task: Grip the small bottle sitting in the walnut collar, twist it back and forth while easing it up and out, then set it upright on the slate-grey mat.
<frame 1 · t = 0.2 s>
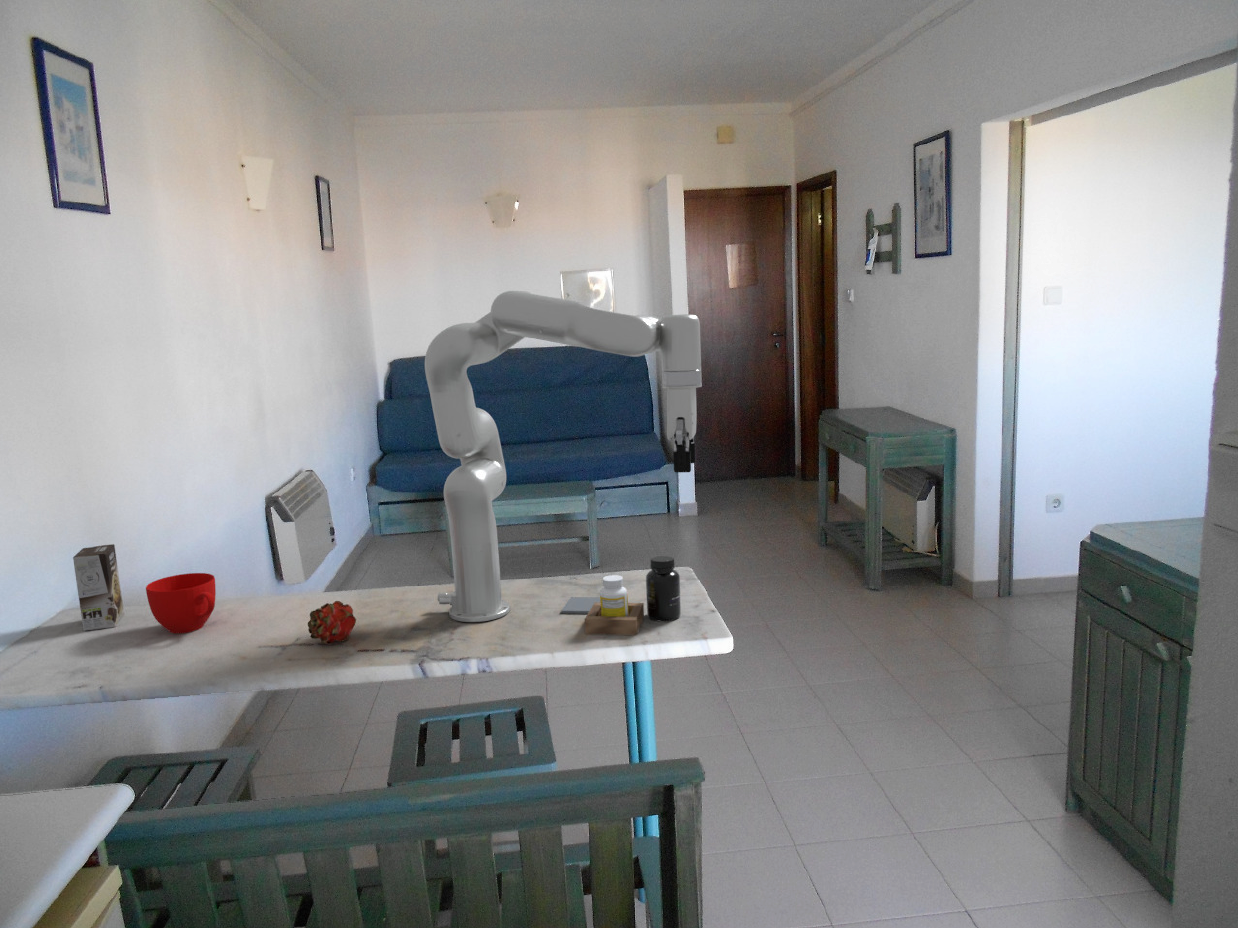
hand: (685, 467, 177), 31 cm above the table, tool pointing down, fingers open, 9 cm apart
ceramic cup: (192, 630, 189), on the table
dragon fruit: (335, 641, 179), on the table
coffee box: (104, 623, 196), on the table
walnut collar: (615, 625, 180), on the table
supplement bottle: (664, 616, 184), on the table
slate mat: (587, 606, 192), on the table
supplement bottle 2: (615, 626, 180), resting in walnut collar
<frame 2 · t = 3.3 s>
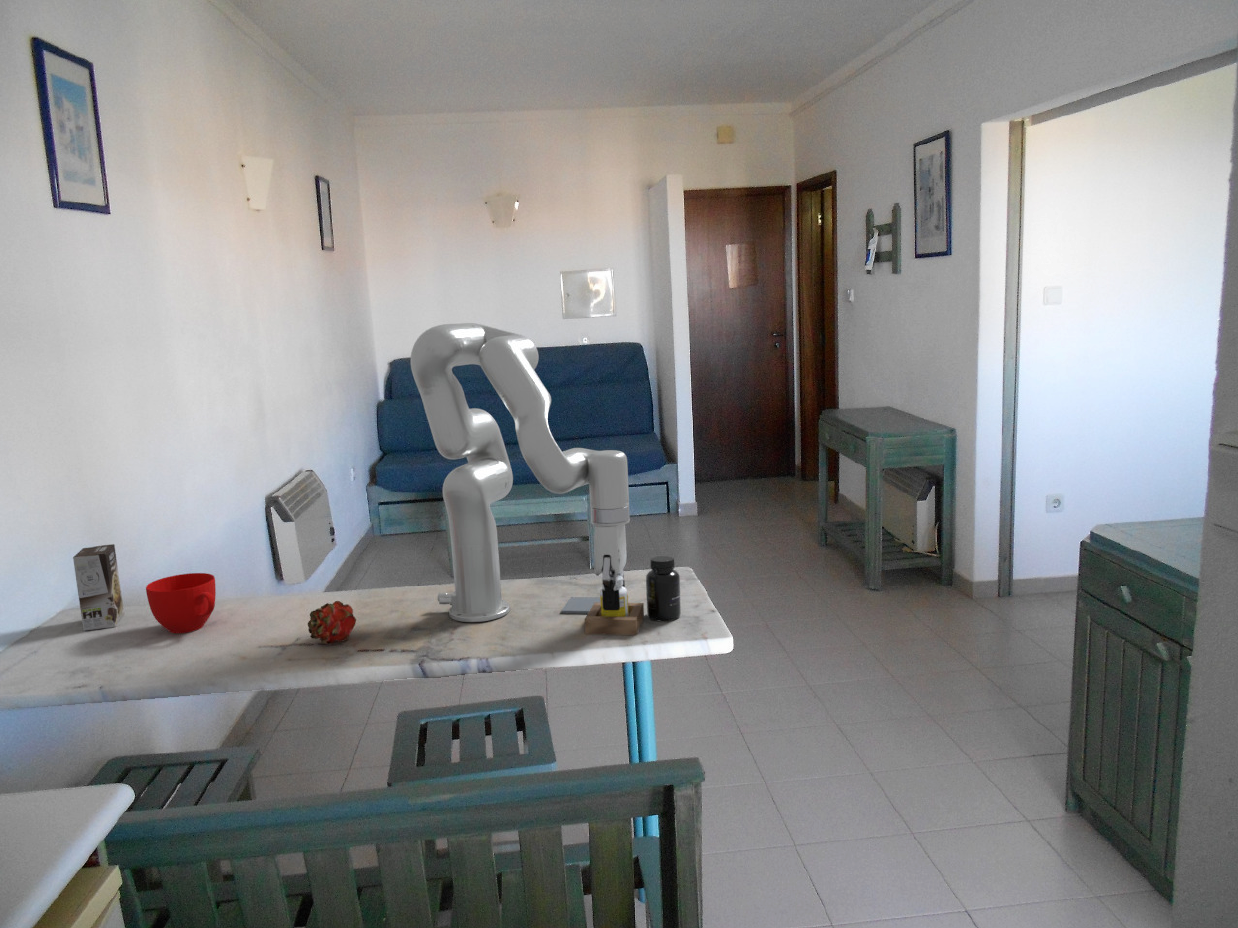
hand: (614, 603, 179), 5 cm above the table, tool pointing down, fingers closed on supplement bottle 2, 5 cm apart
supplement bottle 2: (615, 626, 180), resting in walnut collar, touching gripper
everything else where it was.
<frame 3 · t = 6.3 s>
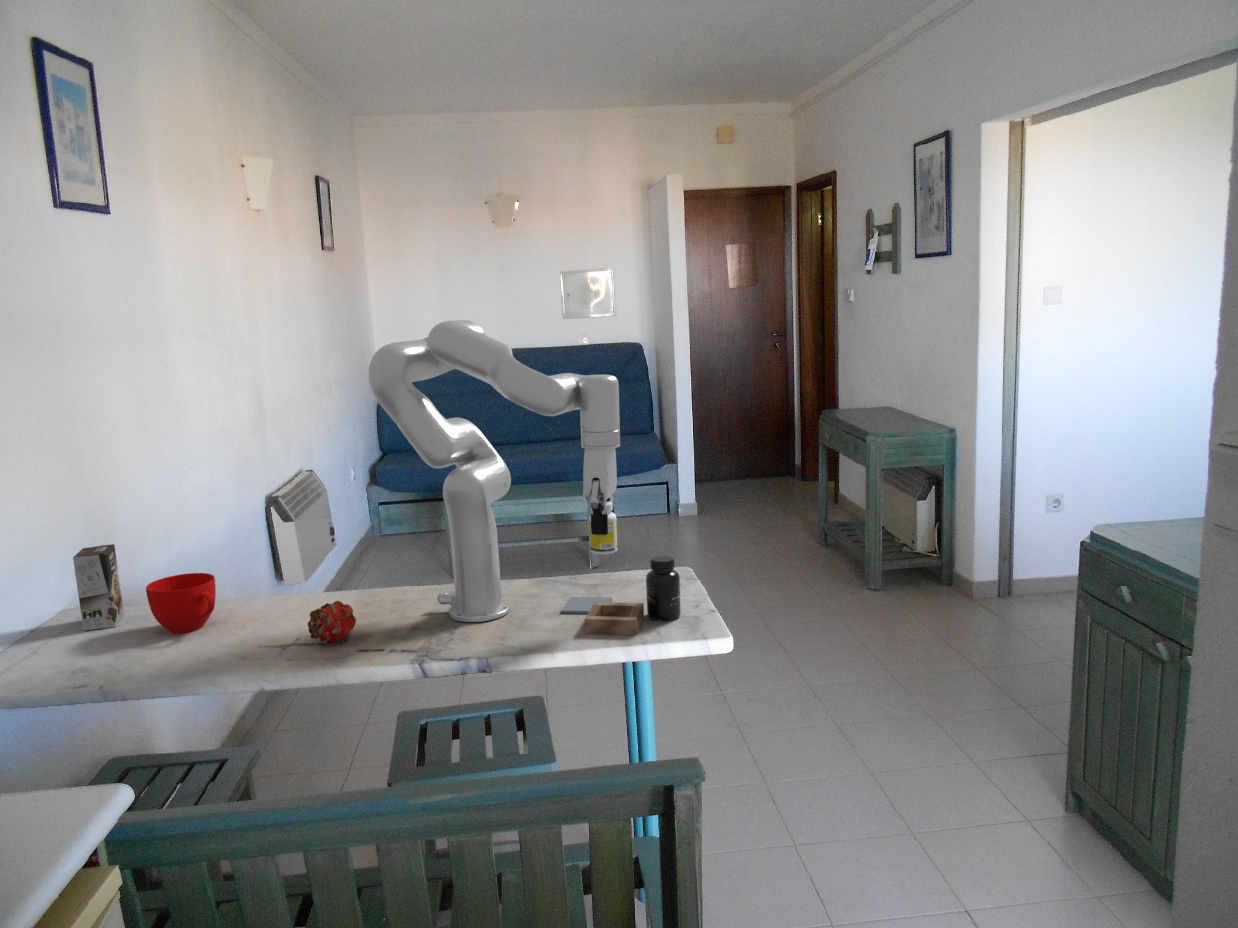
hand: (603, 529, 179), 19 cm above the table, tool pointing down, fingers closed on supplement bottle 2, 5 cm apart
supplement bottle 2: (603, 552, 180), point 14 cm above the table, touching gripper
everything else where it was.
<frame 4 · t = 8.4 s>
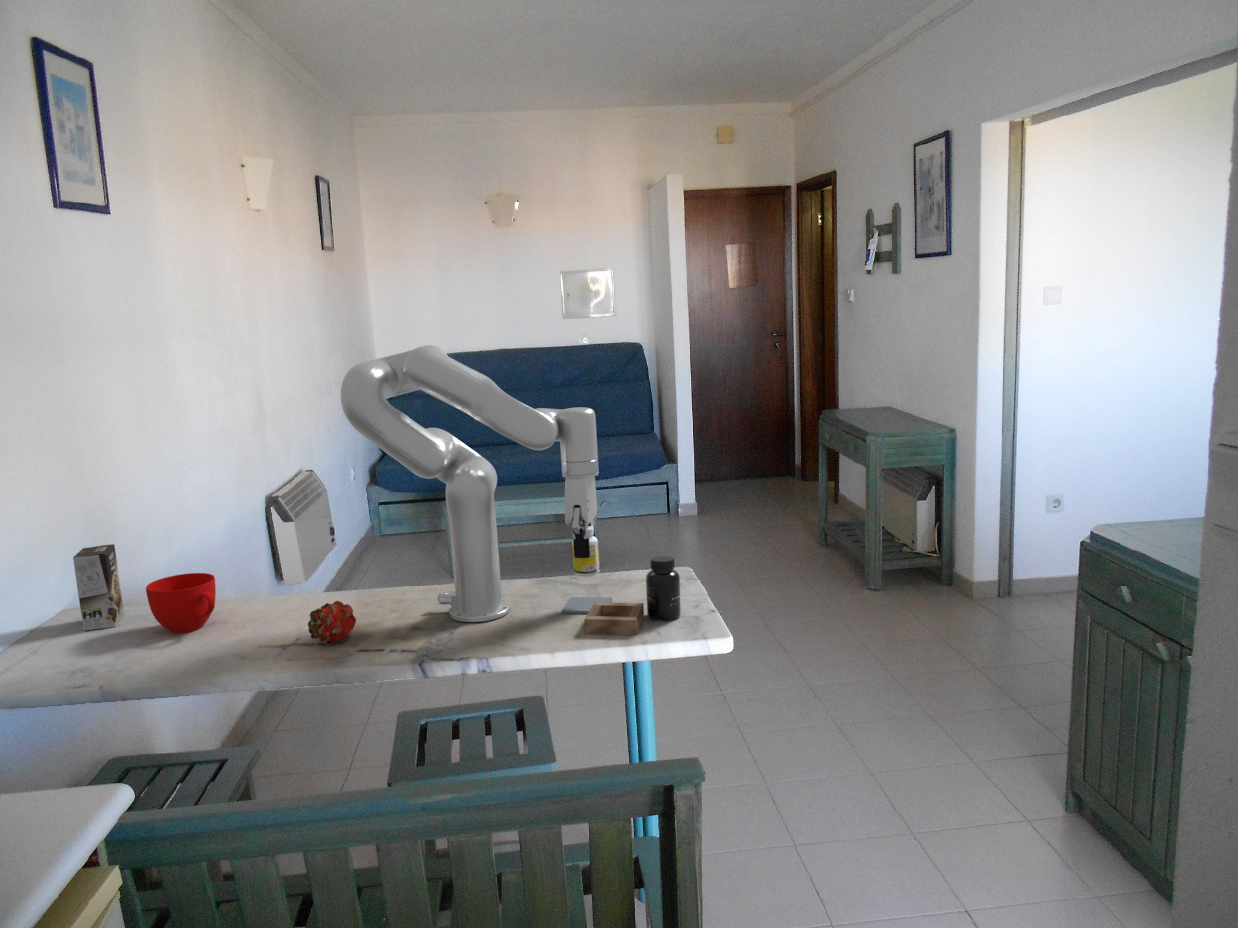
hand: (585, 552, 190), 12 cm above the table, tool pointing down, fingers closed on supplement bottle 2, 5 cm apart
supplement bottle 2: (586, 574, 191), point 7 cm above the table, touching gripper
everything else where it was.
when the fingers open (7 cm above the table, at t = 9.7 s): supplement bottle 2 drops 2 cm, resting on slate mat.
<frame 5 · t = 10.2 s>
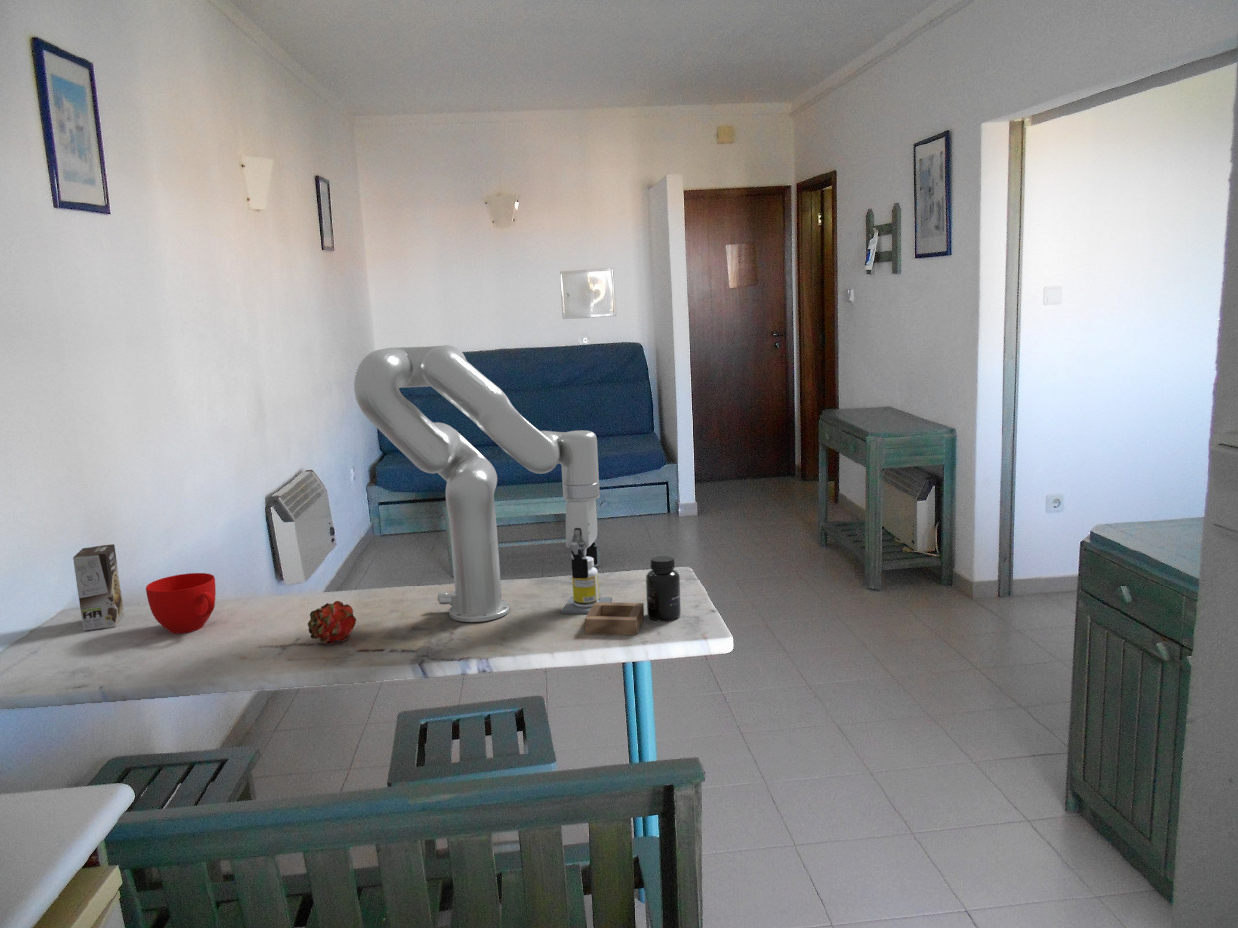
hand: (585, 570, 190), 8 cm above the table, tool pointing down, fingers open, 9 cm apart
supplement bottle 2: (586, 604, 192), resting on slate mat
everything else where it was.
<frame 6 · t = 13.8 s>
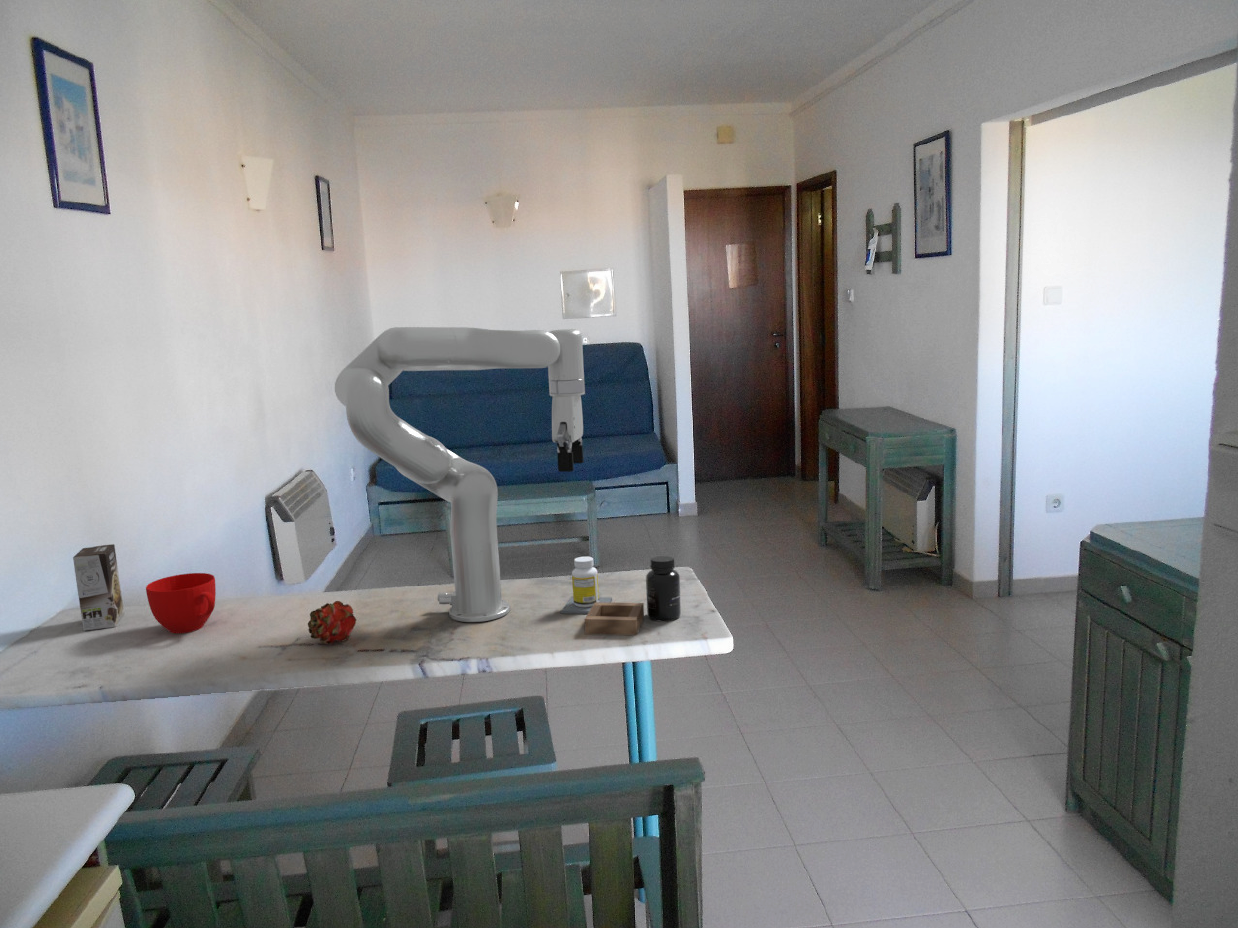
hand: (571, 467, 196), 28 cm above the table, tool pointing down, fingers open, 9 cm apart
nothing on the table moved.
at the end: supplement bottle 2 inside the target area on the slate mat (0.2 cm from its centre), point 0.4 cm above the slate mat's base; supplement bottle 2 tilted 0°; the gripper is holding nothing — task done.
